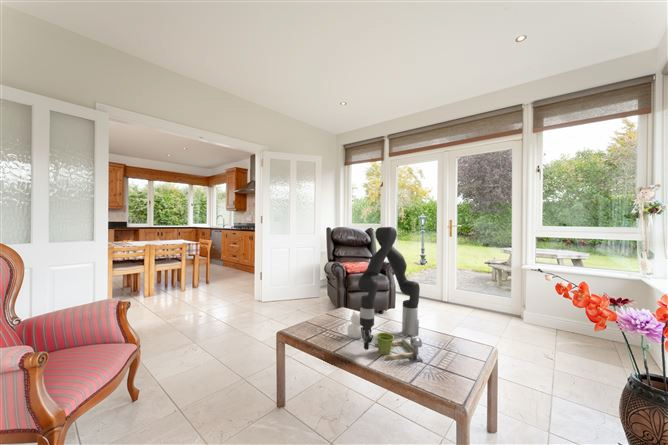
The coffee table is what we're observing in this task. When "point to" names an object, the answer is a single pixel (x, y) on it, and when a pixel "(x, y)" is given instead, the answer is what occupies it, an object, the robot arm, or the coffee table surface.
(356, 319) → the cat figurine
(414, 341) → the winch post
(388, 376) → the coffee table surface
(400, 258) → the robot arm
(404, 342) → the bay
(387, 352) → the plant pot
